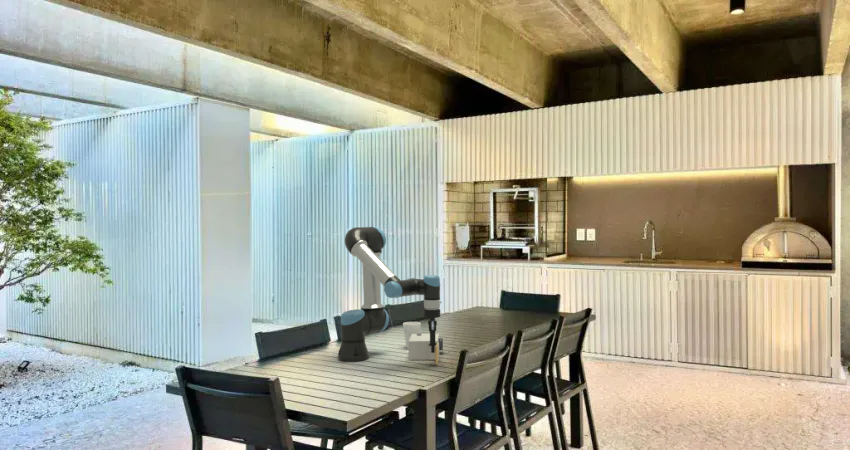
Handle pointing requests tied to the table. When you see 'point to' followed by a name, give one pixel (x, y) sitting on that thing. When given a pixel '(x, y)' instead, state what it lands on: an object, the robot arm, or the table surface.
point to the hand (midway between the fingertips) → (432, 359)
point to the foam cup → (410, 330)
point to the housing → (422, 346)
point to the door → (437, 353)
